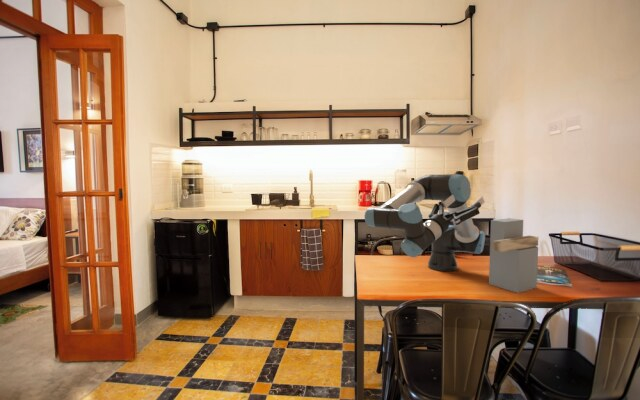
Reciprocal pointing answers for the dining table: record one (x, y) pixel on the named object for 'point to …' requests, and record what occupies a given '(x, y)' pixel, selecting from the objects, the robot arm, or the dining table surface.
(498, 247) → the ash rod
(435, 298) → the dining table surface
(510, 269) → the stand
